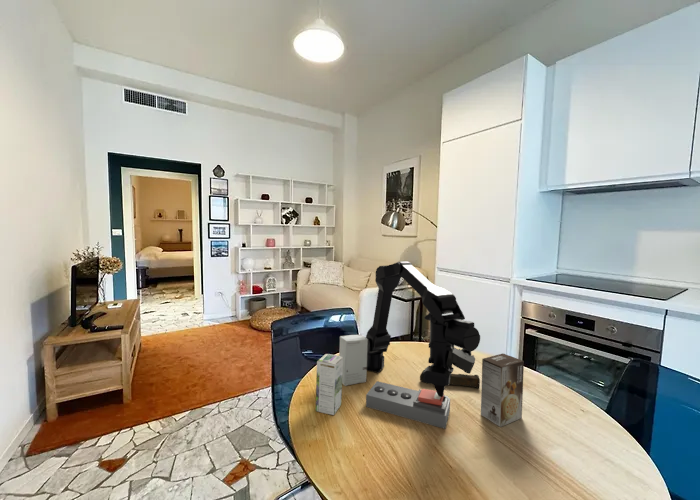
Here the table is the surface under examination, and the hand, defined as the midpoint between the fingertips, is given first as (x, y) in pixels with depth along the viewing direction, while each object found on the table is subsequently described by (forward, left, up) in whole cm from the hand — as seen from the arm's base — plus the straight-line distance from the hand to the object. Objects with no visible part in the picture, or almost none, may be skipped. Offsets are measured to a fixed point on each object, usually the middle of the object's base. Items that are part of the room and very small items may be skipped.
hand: (440, 396), depth 81 cm
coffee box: (+15, +8, -6) cm, 18 cm away
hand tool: (0, +20, -6) cm, 21 cm away
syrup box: (-29, -10, -6) cm, 31 cm away
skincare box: (-30, +8, -6) cm, 32 cm away
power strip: (-9, 0, -6) cm, 11 cm away
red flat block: (-2, 0, -1) cm, 3 cm away
